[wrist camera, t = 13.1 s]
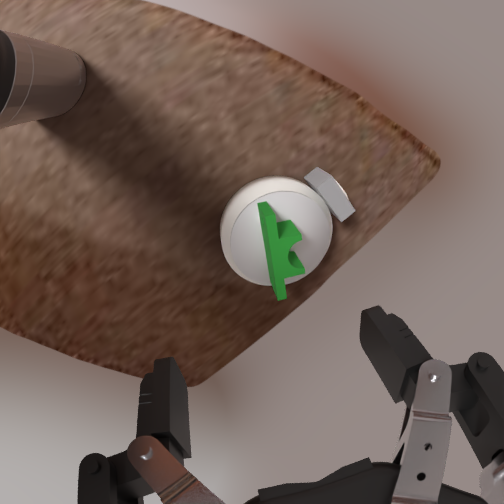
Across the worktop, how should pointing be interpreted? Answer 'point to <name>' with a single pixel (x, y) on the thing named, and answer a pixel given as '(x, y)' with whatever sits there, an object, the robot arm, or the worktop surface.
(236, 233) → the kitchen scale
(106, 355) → the worktop surface
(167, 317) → the worktop surface
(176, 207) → the worktop surface
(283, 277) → the pipe clamp
